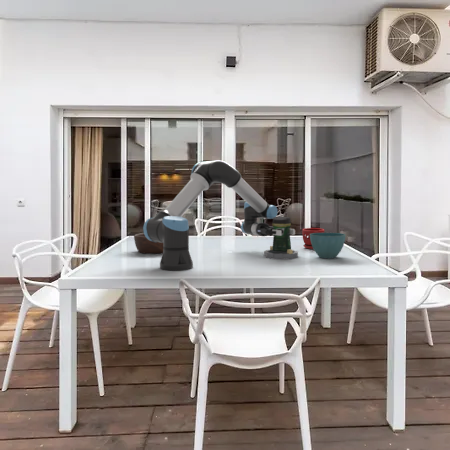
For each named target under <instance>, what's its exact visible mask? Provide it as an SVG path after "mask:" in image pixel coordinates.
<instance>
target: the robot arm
mask: <svg viewBox="0 0 450 450" xmlns="http://www.w3.org/2000/svg"><path fill="white" fill-rule="evenodd" d="M189 177H190V179H189V181H188V182H187V183H186V184H185V185H184V186H183V188H182V189H181V190H180V191H179V193H178V194H177V195H176V196H175V197H174V198H173V199H172V201H170V203H169V204H168V205H167V206H166V208H165V209H164V210H159V211H158V212H157V213H156V215H155V216H154V217H150V218H148V219H146V221H145V222H144V224H143V227H142V229H143V233H144V235H145V237H146V238H147V239H148V240H150V241H153V242H160V243H163V253H162V255H161V258H160V261H159V269H160V270H163V271H164V270H165V271H183V270H185V271H186V270H190V269H193V267H194V264H193V263H194V262H193V261H194V260H193V258H192V257H191V252H190V249H189V248H190V247H189V246H190V244H189V243H190V239H189V237H190V235H189V231H190V225H189V220H188V218H185V217H183V216H184V214H185V213H186V212H187V211H188V210H189V208H190V207H191V206H192V205H193V204H194V202H195V201H196V200H197V199H198V197H199V196H200V195H201V194H202V193H203V191H207V190H209V188H211V186H213V184H222V185H225V187H227V188H229V189H232V190H233V191H234V192H235V193H236V194H238V195H239V197H241V198H242V200H243V201H245V202H244V204H243V205H244V207H243V216H244V217H243V219H244V220H243V222H242V223H241V225H240V230H241V231H242V233H243V234H246V235H251V236H256V237H260V236H261V237H267V236H268V235H269V237H271V236H272V235H273V236H274V235H279V236H281V230H274V229H273V226H270V225H269V224H268V223H266V222H258V219H265V220H266V219H267V220H268V219H269V220H270V219H272V220H273V218H274V217H278V216H277V215H278V212H279V211H278V208H277V206H276V205H273V204H269V203H268V202H267V201H266V200H265V199H264V198H263V197H262V196H261V195H260V194H259V193H258V192H257V191H256V190H255V189H254V188H253V187H252V186H251V185H250V184H249V183H248V182H246V181H245V179H244V178H242V174H241V173H240V172H239V171H238V169H236V168H235V166H232V165H230V164H229V163H227V162H226V161H224V160H221V159H220V160H219V159H216V160H207V161H206V160H205V161H203V160H202V161H199V162H197V163H196V164H194V165H193V166H192V167H191V173H190V176H189ZM295 233H296V230H295V229H294V228H290V235H296V234H295Z"/></svg>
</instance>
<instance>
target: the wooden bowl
mask: <svg viewBox="0 0 450 450" xmlns="http://www.w3.org/2000/svg"><path fill="white" fill-rule="evenodd" d="M133 239H134V245H135V248H136V249H137V251H138V253H141V254H148V255H153V254H155V255H157V254H163V243H160V242H153V241H150V240H148V239H147V238H146V237H145V235H144V232H142V233H136V234H134V236H133Z"/></svg>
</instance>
